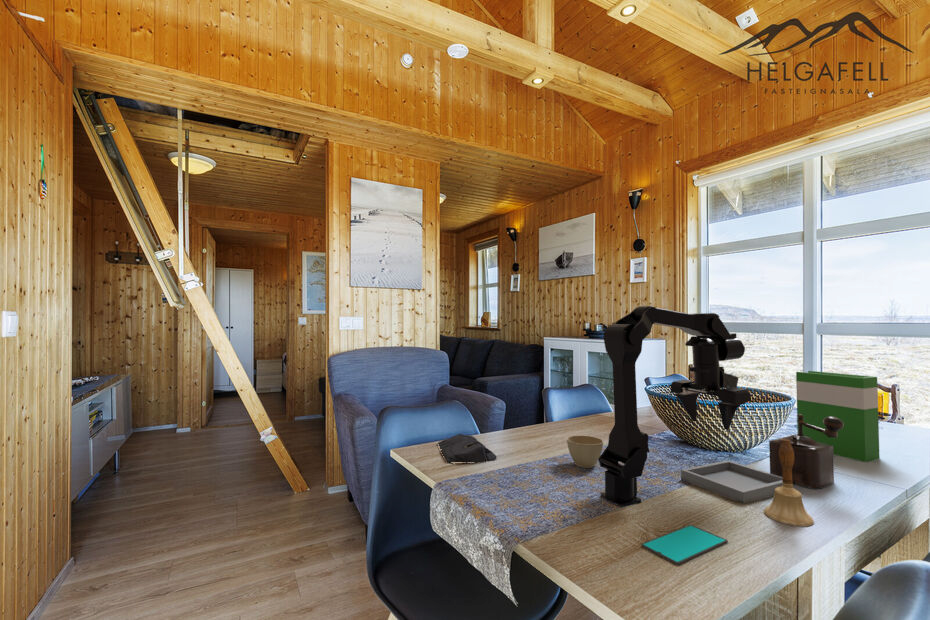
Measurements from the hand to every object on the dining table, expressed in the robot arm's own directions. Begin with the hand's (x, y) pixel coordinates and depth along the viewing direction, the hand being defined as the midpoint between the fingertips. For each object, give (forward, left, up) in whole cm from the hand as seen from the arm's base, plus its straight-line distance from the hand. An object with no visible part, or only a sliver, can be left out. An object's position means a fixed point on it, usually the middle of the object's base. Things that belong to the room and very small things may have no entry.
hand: (710, 425), depth 108 cm
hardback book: (+59, +2, -15) cm, 61 cm away
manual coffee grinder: (+23, -10, -15) cm, 29 cm away
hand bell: (-3, -19, -15) cm, 24 cm away
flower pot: (-20, +24, -15) cm, 34 cm away
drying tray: (+4, -3, -14) cm, 15 cm away
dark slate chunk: (-46, +49, -15) cm, 69 cm away
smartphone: (-32, -18, -15) cm, 40 cm away
